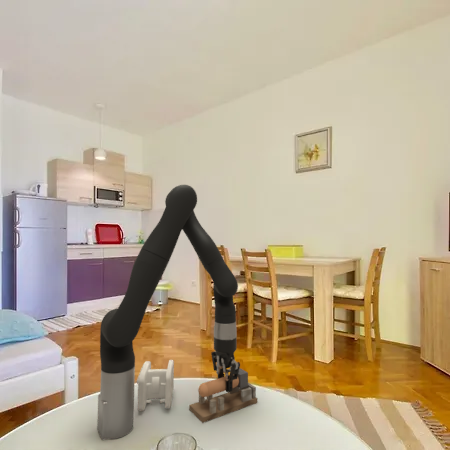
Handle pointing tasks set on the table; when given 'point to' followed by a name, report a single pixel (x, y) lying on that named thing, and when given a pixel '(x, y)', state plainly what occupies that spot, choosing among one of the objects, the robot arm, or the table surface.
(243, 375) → the tan rounded rod
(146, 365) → the cable organizer
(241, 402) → the brown pegged board
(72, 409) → the table surface
